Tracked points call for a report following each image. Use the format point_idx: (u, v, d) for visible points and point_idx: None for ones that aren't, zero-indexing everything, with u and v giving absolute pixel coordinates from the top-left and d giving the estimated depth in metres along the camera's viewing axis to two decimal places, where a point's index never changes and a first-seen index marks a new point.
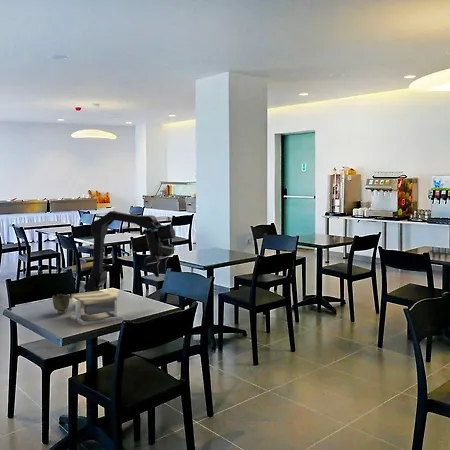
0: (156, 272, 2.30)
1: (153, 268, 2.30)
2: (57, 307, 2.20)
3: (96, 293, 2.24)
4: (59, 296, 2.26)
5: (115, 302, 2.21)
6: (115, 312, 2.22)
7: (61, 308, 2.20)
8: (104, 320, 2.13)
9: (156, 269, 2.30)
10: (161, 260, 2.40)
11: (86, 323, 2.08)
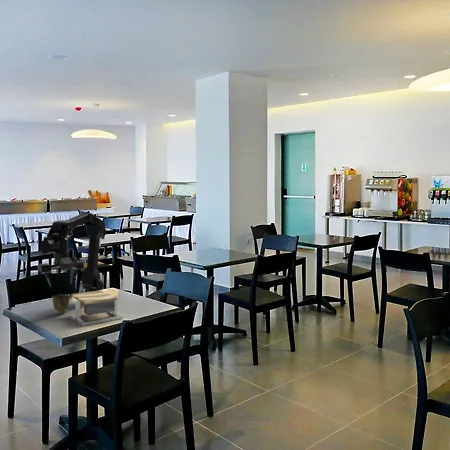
0: (49, 282, 2.19)
1: (47, 276, 2.19)
2: (57, 307, 2.20)
3: (96, 293, 2.24)
4: (59, 296, 2.26)
5: (115, 302, 2.21)
6: (115, 312, 2.22)
7: (61, 308, 2.20)
8: (104, 320, 2.13)
9: (48, 279, 2.18)
10: (72, 270, 2.25)
11: (86, 323, 2.08)
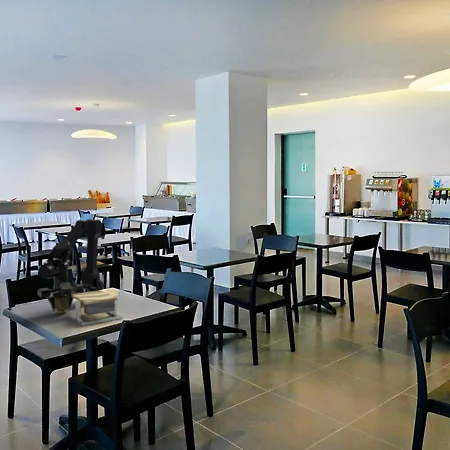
0: (51, 306, 2.20)
1: (50, 301, 2.21)
2: (57, 307, 2.20)
3: (96, 293, 2.24)
4: (59, 296, 2.26)
5: (115, 302, 2.21)
6: (115, 312, 2.22)
7: (61, 308, 2.20)
8: (104, 320, 2.13)
9: (51, 303, 2.20)
10: (69, 294, 2.25)
11: (86, 323, 2.08)
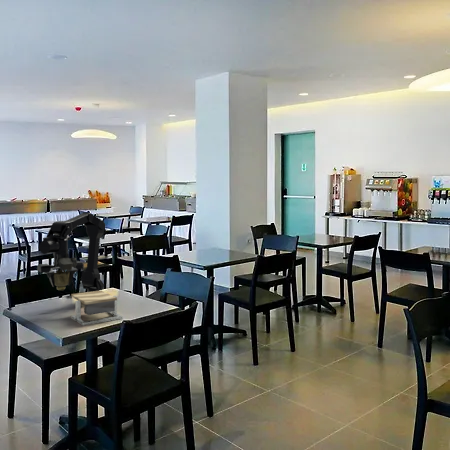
0: (51, 282, 2.19)
1: (50, 277, 2.20)
2: (57, 283, 2.19)
3: (96, 293, 2.24)
4: (59, 272, 2.25)
5: (115, 302, 2.21)
6: (115, 312, 2.22)
7: (61, 284, 2.19)
8: (104, 320, 2.13)
9: (51, 279, 2.19)
10: (69, 271, 2.24)
11: (86, 323, 2.08)
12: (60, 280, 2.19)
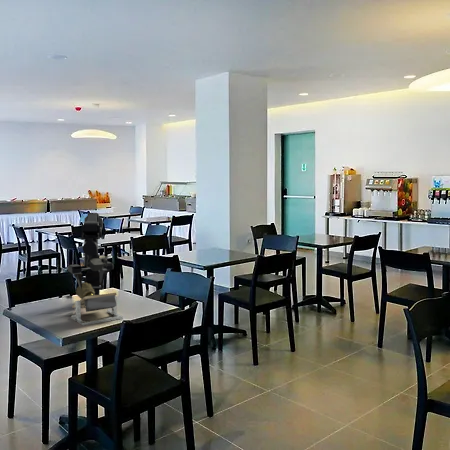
0: (79, 283, 2.18)
1: (77, 278, 2.18)
2: (83, 291, 2.23)
3: None
4: None
5: None
6: (115, 312, 2.22)
7: (87, 289, 2.23)
8: (104, 320, 2.13)
9: (78, 280, 2.17)
10: (101, 271, 2.24)
11: (86, 323, 2.08)
12: (84, 287, 2.24)
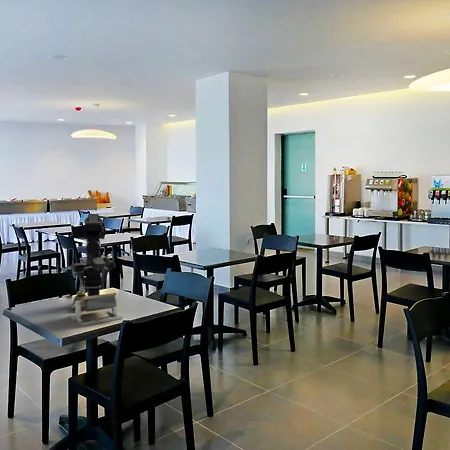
0: (81, 281, 2.23)
1: (80, 276, 2.23)
2: None
3: None
4: None
5: None
6: (115, 312, 2.22)
7: None
8: (104, 320, 2.13)
9: (81, 278, 2.22)
10: (103, 269, 2.29)
11: (86, 323, 2.08)
12: None
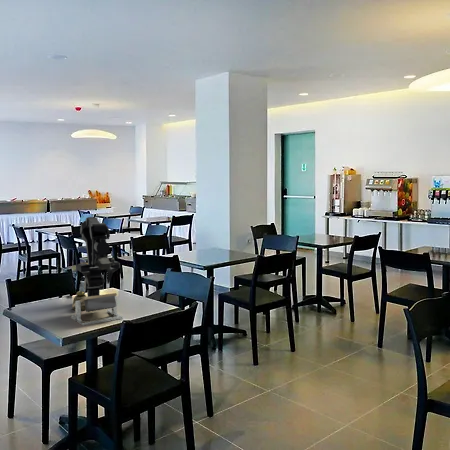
0: (87, 281, 2.28)
1: (85, 276, 2.28)
2: None
3: None
4: None
5: None
6: (115, 312, 2.22)
7: None
8: (104, 320, 2.13)
9: (87, 278, 2.27)
10: (108, 270, 2.35)
11: (86, 323, 2.08)
12: None
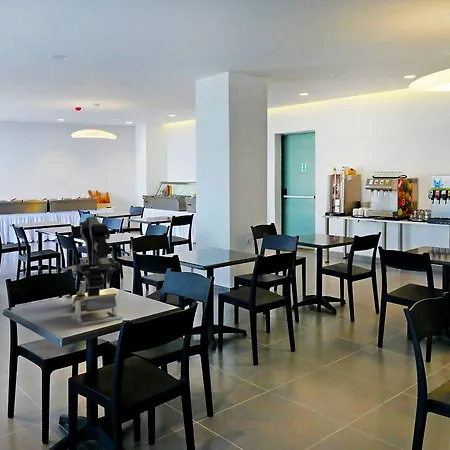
0: (87, 281, 2.28)
1: (85, 276, 2.28)
2: None
3: None
4: None
5: None
6: (115, 312, 2.22)
7: None
8: (104, 320, 2.13)
9: (87, 278, 2.27)
10: (108, 270, 2.35)
11: (86, 323, 2.08)
12: None
